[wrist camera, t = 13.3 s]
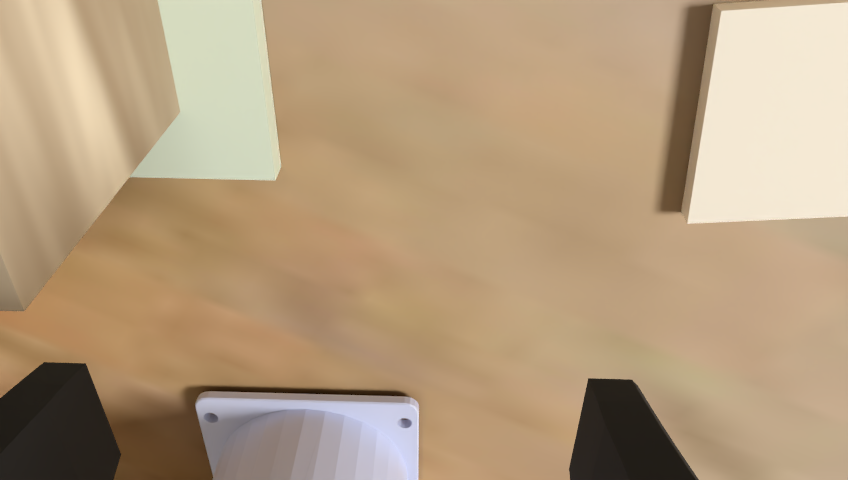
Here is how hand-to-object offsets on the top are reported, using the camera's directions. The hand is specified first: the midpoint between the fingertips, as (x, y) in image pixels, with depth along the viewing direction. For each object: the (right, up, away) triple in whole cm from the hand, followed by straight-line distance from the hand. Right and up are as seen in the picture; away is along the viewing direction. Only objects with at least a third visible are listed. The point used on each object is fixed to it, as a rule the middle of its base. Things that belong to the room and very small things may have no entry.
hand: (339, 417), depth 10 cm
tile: (+9, +6, +8) cm, 13 cm away
